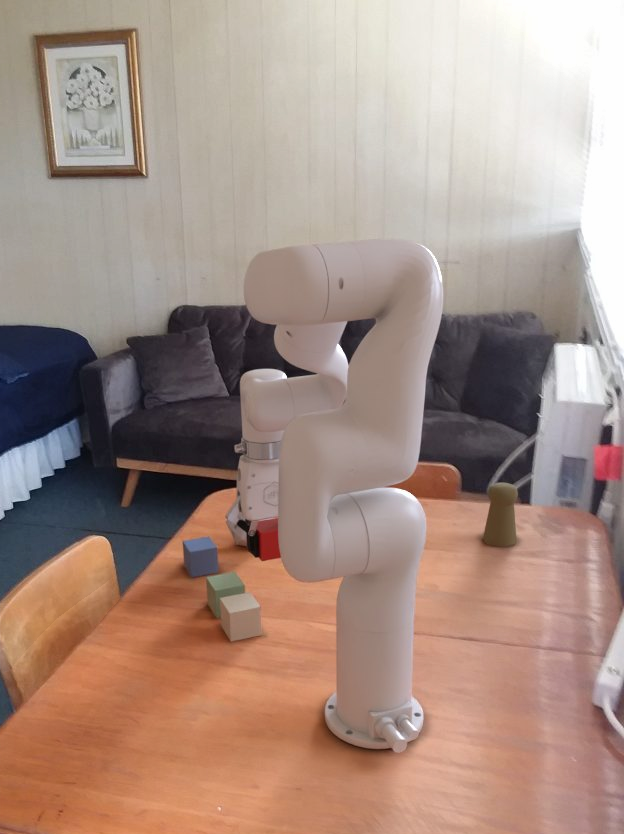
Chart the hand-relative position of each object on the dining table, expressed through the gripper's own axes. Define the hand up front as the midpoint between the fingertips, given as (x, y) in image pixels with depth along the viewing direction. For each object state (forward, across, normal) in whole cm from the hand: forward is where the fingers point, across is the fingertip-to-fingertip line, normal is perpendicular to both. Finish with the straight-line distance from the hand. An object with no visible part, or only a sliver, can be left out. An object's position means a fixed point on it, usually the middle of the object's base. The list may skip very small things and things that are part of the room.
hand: (270, 550), depth 140 cm
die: (+7, +3, +19) cm, 20 cm away
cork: (+8, +46, +2) cm, 47 cm away
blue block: (+7, -9, +12) cm, 17 cm away
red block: (0, 0, 0) cm, 0 cm away
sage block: (+8, -9, -3) cm, 12 cm away
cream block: (+8, -9, -10) cm, 16 cm away
